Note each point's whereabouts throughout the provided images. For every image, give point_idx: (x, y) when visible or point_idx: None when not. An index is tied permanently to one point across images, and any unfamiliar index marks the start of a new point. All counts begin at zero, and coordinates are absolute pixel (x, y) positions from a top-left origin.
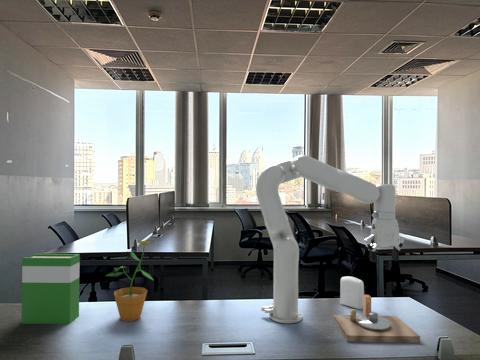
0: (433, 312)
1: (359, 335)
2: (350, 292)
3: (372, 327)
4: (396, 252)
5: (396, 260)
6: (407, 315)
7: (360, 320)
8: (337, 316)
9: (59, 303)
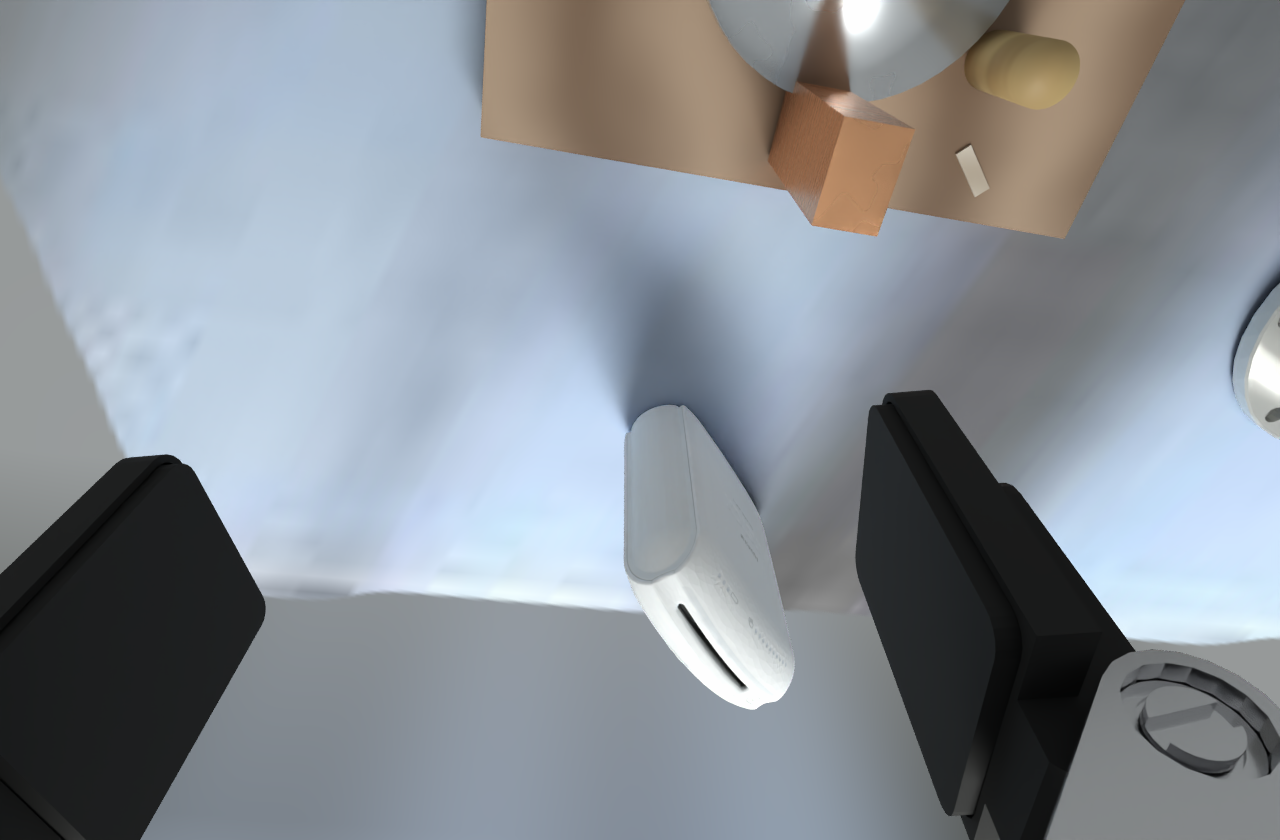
0: (49, 275)
1: None
2: (741, 530)
3: None
4: (15, 671)
5: (186, 472)
6: (322, 241)
7: None
8: (1054, 197)
9: None
